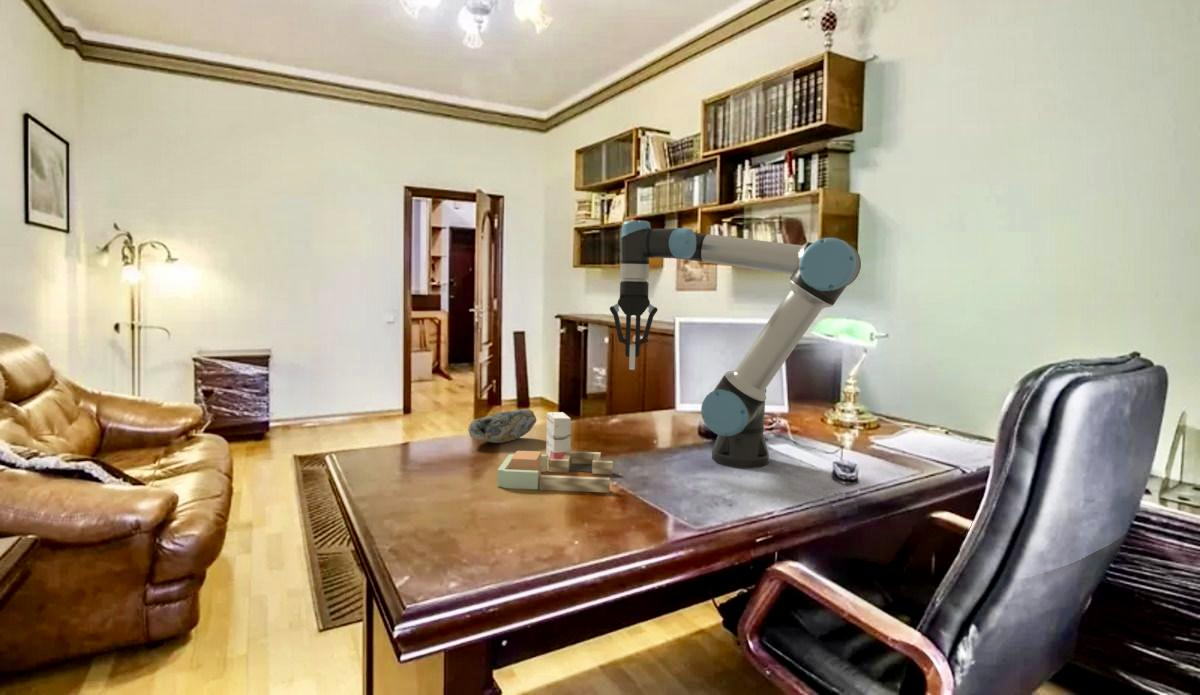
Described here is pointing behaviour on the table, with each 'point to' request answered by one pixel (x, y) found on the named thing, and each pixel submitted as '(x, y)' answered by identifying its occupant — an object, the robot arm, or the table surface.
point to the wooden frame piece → (578, 463)
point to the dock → (519, 475)
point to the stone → (502, 426)
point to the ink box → (558, 435)
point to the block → (526, 461)
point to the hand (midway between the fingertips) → (632, 368)
